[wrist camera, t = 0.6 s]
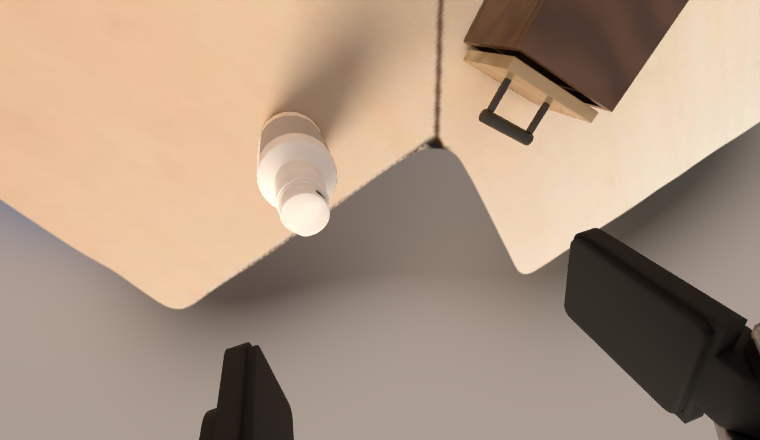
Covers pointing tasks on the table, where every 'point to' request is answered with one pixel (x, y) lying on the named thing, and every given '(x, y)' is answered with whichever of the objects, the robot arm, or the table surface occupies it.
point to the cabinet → (579, 39)
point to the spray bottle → (296, 172)
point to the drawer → (525, 90)
